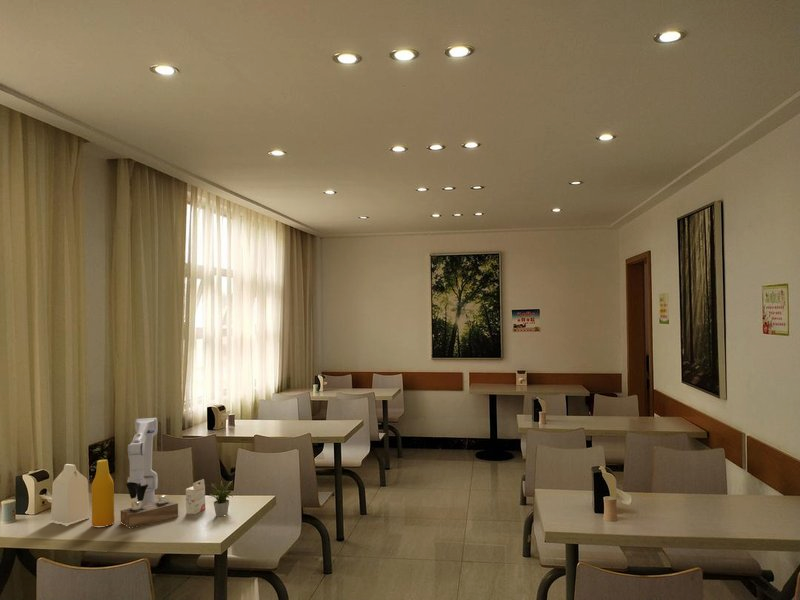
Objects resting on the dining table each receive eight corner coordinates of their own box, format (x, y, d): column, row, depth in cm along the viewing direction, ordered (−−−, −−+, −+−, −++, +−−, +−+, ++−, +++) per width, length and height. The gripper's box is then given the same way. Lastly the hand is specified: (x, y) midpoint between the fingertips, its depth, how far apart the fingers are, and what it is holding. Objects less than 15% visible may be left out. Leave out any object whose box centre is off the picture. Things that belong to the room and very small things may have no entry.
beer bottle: (117, 524, 272) (116, 460, 273) (95, 529, 266) (94, 463, 267) (110, 520, 279) (109, 457, 280) (89, 525, 273) (88, 460, 274)
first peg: (130, 514, 273) (130, 502, 274) (139, 512, 276) (139, 500, 276) (133, 516, 271) (133, 504, 271) (142, 514, 273) (142, 501, 274)
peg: (156, 508, 282) (156, 496, 282) (164, 506, 285) (164, 494, 285) (160, 509, 279) (159, 497, 279) (168, 507, 282) (168, 495, 282)
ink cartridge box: (197, 508, 293) (196, 478, 294) (205, 509, 291) (205, 478, 292) (185, 513, 285) (185, 482, 285) (194, 514, 283) (193, 483, 284)
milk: (50, 523, 278) (50, 466, 279) (74, 515, 288) (73, 461, 289) (66, 526, 272) (66, 468, 273) (90, 518, 282) (89, 463, 284)
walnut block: (120, 523, 274) (120, 510, 274) (168, 511, 289) (167, 499, 289) (130, 528, 266) (129, 514, 266) (178, 516, 281) (177, 503, 282)
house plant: (202, 522, 272) (201, 485, 272) (203, 513, 285) (202, 478, 286) (235, 518, 276) (234, 482, 276) (234, 509, 289) (233, 475, 290)
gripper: (121, 468, 276) (121, 498, 275) (134, 472, 266) (134, 504, 266) (136, 466, 281) (136, 495, 281) (150, 469, 272) (150, 500, 271)
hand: (136, 499), depth 273 cm, fingers open, 7 cm apart
